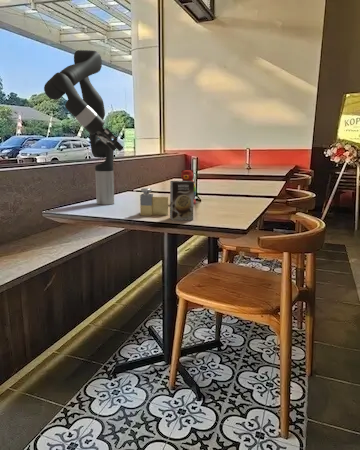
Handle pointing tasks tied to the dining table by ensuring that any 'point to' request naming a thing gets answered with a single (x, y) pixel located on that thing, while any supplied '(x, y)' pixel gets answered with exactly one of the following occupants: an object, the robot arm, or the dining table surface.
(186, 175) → the stacking bear
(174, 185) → the coffee box
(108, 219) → the dining table surface
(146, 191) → the pin
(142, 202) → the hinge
